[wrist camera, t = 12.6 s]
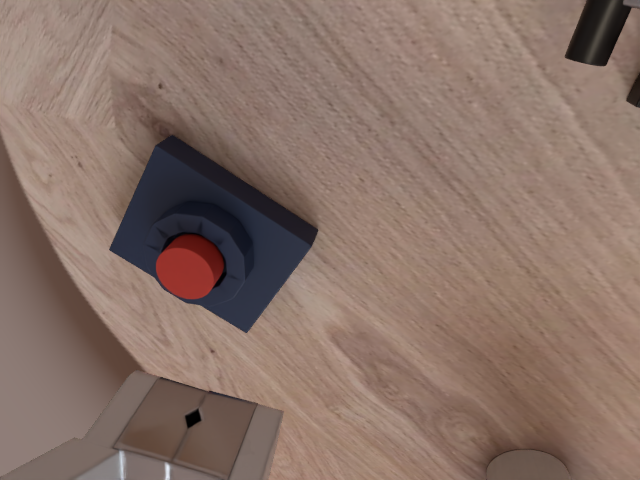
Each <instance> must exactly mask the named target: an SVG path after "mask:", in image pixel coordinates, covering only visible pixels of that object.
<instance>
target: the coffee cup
mask: <svg viewBox="0 0 640 480" xmlns="http://www.w3.org/2000/svg"><path fill="white" fill-rule="evenodd" d="M486 478H487V480H571V478H570V475H569V473H568V471H567V469H566V467H565V465H564V464H563V463H562V462H561V461H560V460H558V459H557V458H556V457H554V456H552V455H550V454H548V453H544V452H541V451H536V450H524V449H523V450H514V451H509V452H506V453H503V454H501V455H499V456H497V457H496V458H494V459H493V460H492V461H491V462H490V464H489V465H488V468H487V471H486Z"/></svg>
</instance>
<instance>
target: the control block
mask: <svg viewBox="0 0 640 480" xmlns="http://www.w3.org/2000/svg"><path fill="white" fill-rule="evenodd" d="M317 232H318V229H316V228H314V227H313V226H311V225H310V224H308V223H307V222H305V221H304V220H302V219H301V218H299V217H298V216H296V215H295V214H293V213H291V212H290V211H288V210H287V209H285V208H284V207H282V206H281V205H279V204H278V203H276V202H275V201H273V200H272V199H270V198H268V197H267V196H265V195H264V194H262V193H261V192H259V191H258V190H256V189H255V188H253V187H252V186H250V185H248V184H247V183H245V182H244V181H242V180H241V179H239V178H238V177H236V176H235V175H233V174H232V173H230V172H229V171H227V170H225V169H224V168H222V167H221V166H219V165H218V164H216V163H215V162H213V161H212V160H210V159H209V158H207V157H206V156H204V155H202V154H201V153H199V152H198V151H196V150H195V149H193V148H192V147H190V146H189V145H187V144H186V143H184V142H183V141H181V140H179V139H178V138H176V137H175V136H173V135H171V136H170V137H168V138H166V139H165V140H163V141H162V142H160V143H158V144H157V145H156V146H155V148H154V150H153V152H152V155H151V157H150V159H149V161H148V164H147V166H146V168H145V170H144V173H143V175H142V177H141V179H140V182H139V184H138V186H137V188H136V190H135V193H134V195H133V197H132V199H131V202H130V204H129V206H128V208H127V211H126V213H125V215H124V217H123V220H122V222H121V224H120V226H119V229H118V231H117V233H116V235H115V238H114V240H113V242H112V244H111V247H110V249H109V250H110V251H112V252H113V253H115V254H117V255H118V256H120V257H122V258H123V259H125V260H127V261H128V262H130V263H131V264H133V265H135V266H136V267H138V268H140V269H141V270H143V271H145V272H146V273H148V274H150V275H151V276H153V277H155V279H156V280H157V281H158V283H159V284H160V286H161V287H162V288H163V289H164V290H166V291H167V292H169V293H170V294H172V295H174V296H175V297H177V298H179V299H180V300H182V301H184V302H186V303H190V304H196V305H201V306H202V307H204V308H206V309H207V310H209V311H211V312H212V313H214V314H216V315H217V316H219V317H221V318H222V319H224V320H226V321H227V322H229V323H230V324H232V325H234V326H235V327H237V328H239V329H240V330H242V331H244V332H245V333H247V332H248V331H249V330H250V328H251V327H252V326H253V324H254V323H255V322H256V320H257V319H258V318H259V316H260V315H261V314H262V312H263V311H264V310H265V308H266V307H267V306H268V304H269V303H270V302H271V300H272V299H273V298H274V296H275V295H276V294H277V292H278V291H279V290H280V288H281V287H282V286H283V284H284V283H285V282H286V280H287V279H288V278H289V276H290V275H291V274H292V272H293V271H294V270H295V268H296V267H297V266H298V264H299V263H300V261H301V260H302V259H303V257H304V256H305V255H306V253H307V252H308V251H309V249H310V248H311V247H312V245H313V242H314V240H315V237H316V235H317ZM185 234H196V235H200V236H202V237H205V238H206V239H208V240H210V241H211V242H212V243H213V244H215V246H216V247H217V248H218V249H219V251H220V252H221V254H222V257H223V261H224V269H223V272H222V274H221V276H220V277H219V279H218V280H217V282H216V283H215V285H214V286H213V288H212V289H211V291H210V292H209V293H208V294H207V295H205V296H204V297H202V298H198V299H186V298H182V297H179V296H177V295H175V294H173V293H172V292H170V291H169V290H168V289H167V288H166V287H165V286H164V285H163V284H162V283H161V281H160V280H159V278H158V275H157V272H156V262H157V259H158V257H159V255H160V254H161V253H162V252H163V251H164V250H165V249H166V248H167V247H168V246H169V245H170V244H171V243H172V241H173V240H174V239H176V238H177V237H179V236H181V235H185Z"/></svg>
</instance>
